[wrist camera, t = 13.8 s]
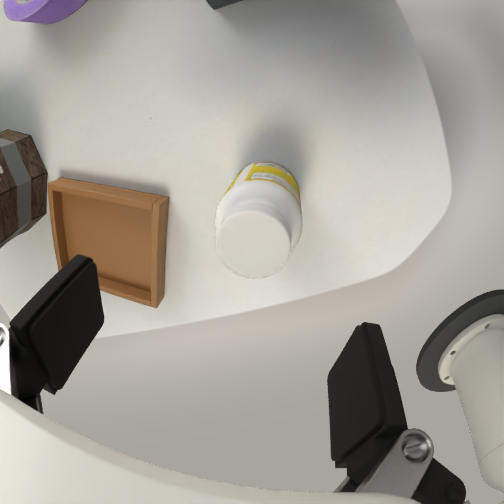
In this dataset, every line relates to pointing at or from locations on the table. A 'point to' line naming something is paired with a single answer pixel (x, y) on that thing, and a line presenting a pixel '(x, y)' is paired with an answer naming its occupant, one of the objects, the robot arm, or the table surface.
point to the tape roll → (40, 10)
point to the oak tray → (112, 235)
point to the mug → (20, 185)
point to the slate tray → (220, 3)
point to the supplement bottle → (258, 220)
